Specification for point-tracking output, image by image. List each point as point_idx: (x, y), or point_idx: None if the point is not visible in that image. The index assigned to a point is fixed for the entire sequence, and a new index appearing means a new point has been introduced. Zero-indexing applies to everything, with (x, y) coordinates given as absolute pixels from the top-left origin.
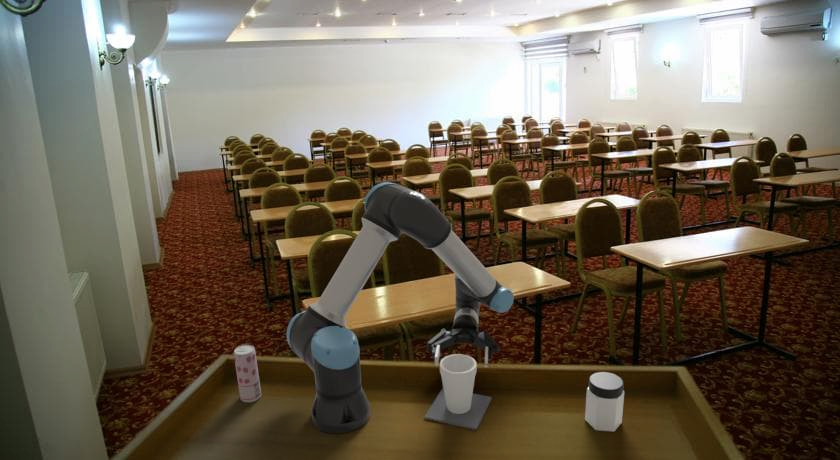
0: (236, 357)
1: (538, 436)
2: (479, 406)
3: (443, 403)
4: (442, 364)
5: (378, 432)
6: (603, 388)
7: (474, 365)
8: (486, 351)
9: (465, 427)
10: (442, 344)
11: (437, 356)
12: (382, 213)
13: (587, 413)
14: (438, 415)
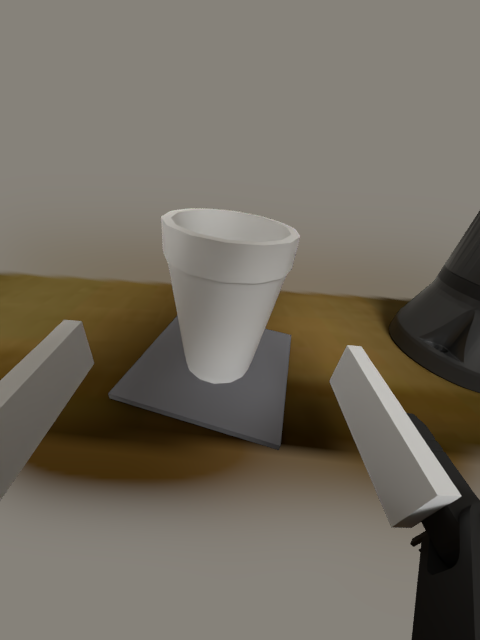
0: None
1: (64, 297)
2: (161, 358)
3: (260, 369)
4: (287, 235)
5: (352, 318)
6: None
7: (173, 212)
8: (8, 385)
9: None
10: (449, 606)
11: (349, 349)
12: None
13: None
14: (262, 336)
